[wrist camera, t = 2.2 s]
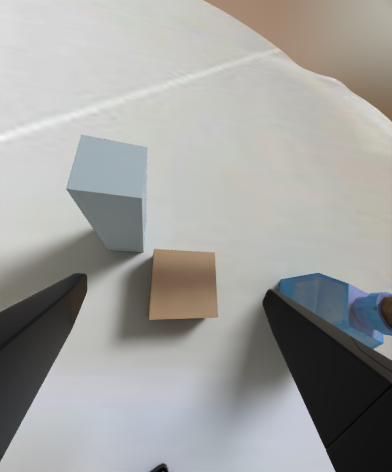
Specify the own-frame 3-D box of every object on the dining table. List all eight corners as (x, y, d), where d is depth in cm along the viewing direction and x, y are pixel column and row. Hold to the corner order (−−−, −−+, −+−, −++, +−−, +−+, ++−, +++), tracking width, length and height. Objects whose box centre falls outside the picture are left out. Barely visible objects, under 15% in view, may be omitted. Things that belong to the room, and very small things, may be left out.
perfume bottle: (312, 342, 24) (451, 374, 13) (272, 323, 23) (383, 341, 13) (316, 297, 27) (435, 292, 16) (281, 279, 26) (378, 262, 15)
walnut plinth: (208, 315, 22) (217, 317, 19) (148, 317, 20) (149, 319, 17) (206, 258, 24) (214, 252, 21) (153, 255, 22) (154, 249, 20)
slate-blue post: (143, 251, 22) (141, 198, 11) (107, 250, 21) (66, 188, 10) (145, 222, 24) (147, 147, 12) (112, 219, 23) (81, 134, 11)
